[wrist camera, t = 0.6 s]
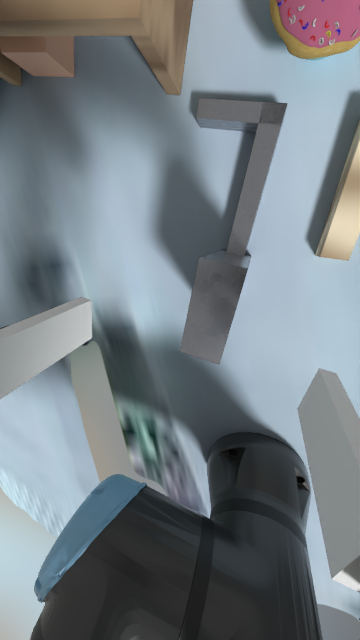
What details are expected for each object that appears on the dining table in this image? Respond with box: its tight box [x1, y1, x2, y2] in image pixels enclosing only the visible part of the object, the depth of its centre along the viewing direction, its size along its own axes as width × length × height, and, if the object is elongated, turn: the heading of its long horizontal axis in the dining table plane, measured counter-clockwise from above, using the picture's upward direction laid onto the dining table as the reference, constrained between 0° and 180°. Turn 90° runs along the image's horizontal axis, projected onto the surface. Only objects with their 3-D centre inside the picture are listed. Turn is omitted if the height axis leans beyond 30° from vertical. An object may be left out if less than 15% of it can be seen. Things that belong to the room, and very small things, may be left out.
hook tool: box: [180, 98, 287, 364], centre depth 21 cm, size 21×9×12 cm, turn 169°
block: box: [0, 36, 74, 77], centre depth 23 cm, size 6×6×4 cm
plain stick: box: [315, 120, 360, 261], centre depth 21 cm, size 12×2×2 cm, turn 173°
